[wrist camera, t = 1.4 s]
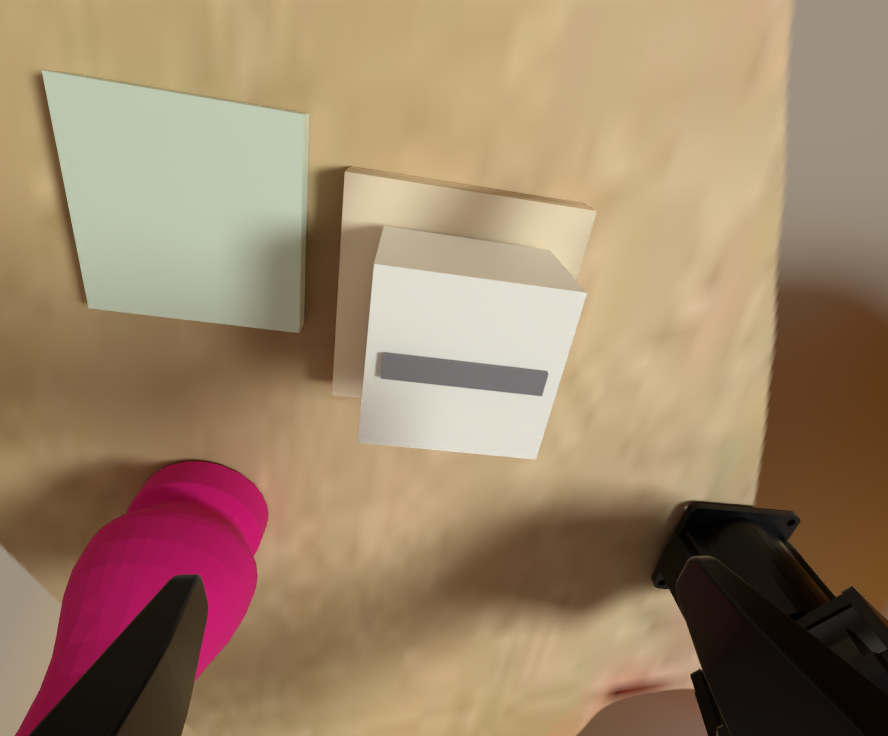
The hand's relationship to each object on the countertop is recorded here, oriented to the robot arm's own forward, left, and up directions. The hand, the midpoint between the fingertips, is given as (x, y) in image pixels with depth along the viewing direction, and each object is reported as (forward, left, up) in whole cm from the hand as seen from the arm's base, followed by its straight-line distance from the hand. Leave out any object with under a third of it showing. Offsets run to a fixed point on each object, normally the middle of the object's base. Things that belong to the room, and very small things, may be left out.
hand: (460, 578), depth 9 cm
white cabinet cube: (-1, -1, -11) cm, 11 cm away
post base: (-1, -1, -13) cm, 13 cm away
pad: (+9, -3, -13) cm, 17 cm away
